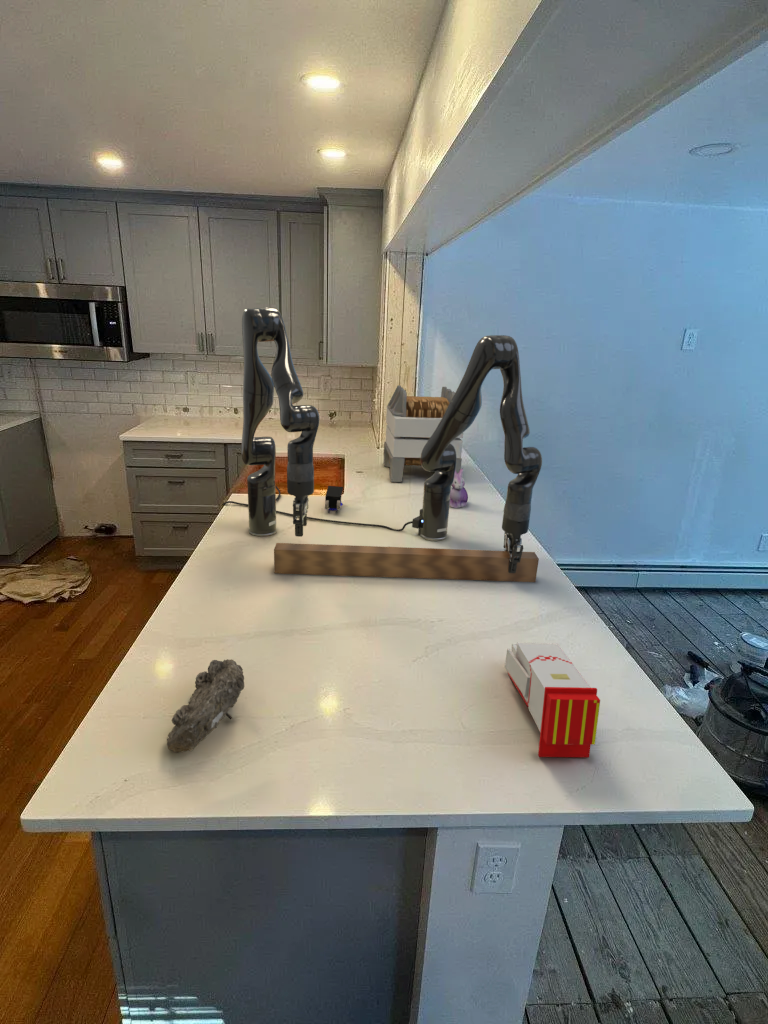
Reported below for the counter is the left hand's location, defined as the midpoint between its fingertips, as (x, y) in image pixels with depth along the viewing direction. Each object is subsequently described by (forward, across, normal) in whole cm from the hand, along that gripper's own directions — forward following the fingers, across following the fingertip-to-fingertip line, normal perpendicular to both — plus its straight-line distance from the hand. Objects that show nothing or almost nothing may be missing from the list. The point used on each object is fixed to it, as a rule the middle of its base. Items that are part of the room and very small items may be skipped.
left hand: (301, 530), depth 165 cm
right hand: (+10, 0, +62) cm, 63 cm away
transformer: (+12, -112, +43) cm, 120 cm away
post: (+13, 0, +31) cm, 34 cm away
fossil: (+14, +64, -9) cm, 66 cm away
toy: (+14, +59, +56) cm, 82 cm away
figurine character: (+12, -56, +5) cm, 57 cm away
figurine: (+12, -66, +55) cm, 87 cm away
